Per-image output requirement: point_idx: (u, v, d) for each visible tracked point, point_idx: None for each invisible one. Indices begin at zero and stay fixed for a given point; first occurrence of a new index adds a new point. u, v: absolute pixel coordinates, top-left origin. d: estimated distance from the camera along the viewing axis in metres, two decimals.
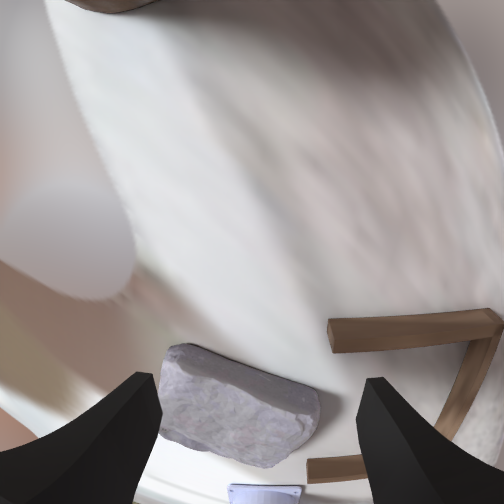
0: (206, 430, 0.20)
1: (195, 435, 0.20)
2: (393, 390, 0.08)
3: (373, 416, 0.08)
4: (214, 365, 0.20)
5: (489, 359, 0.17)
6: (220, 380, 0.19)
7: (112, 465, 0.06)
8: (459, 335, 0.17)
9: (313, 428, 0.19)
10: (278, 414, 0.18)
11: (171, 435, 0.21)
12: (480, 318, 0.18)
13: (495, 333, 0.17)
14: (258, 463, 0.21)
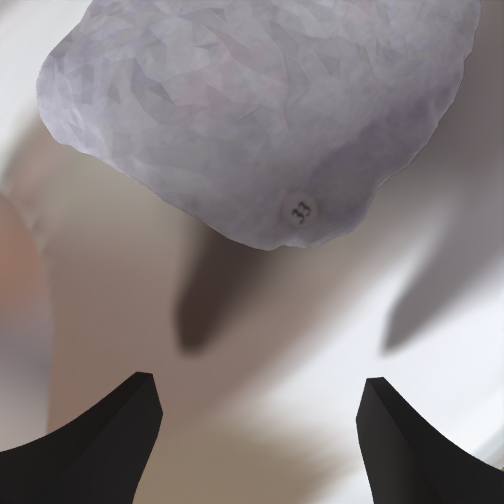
0: (262, 36, 0.05)
1: (300, 85, 0.06)
2: (392, 390, 0.08)
3: (373, 416, 0.08)
4: None
5: None
6: (91, 7, 0.05)
7: (112, 465, 0.06)
8: None
9: None
10: None
11: (337, 196, 0.07)
12: None
13: None
14: None
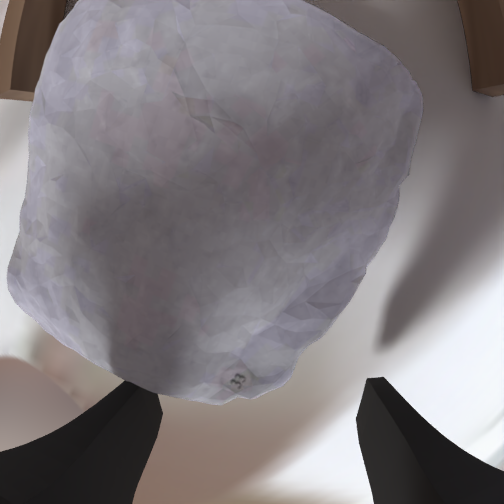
0: (165, 265, 0.07)
1: (209, 304, 0.07)
2: (393, 390, 0.08)
3: (373, 416, 0.08)
4: None
5: None
6: (22, 214, 0.07)
7: (112, 465, 0.06)
8: None
9: None
10: (47, 65, 0.05)
11: (265, 366, 0.08)
12: None
13: None
14: (373, 93, 0.06)
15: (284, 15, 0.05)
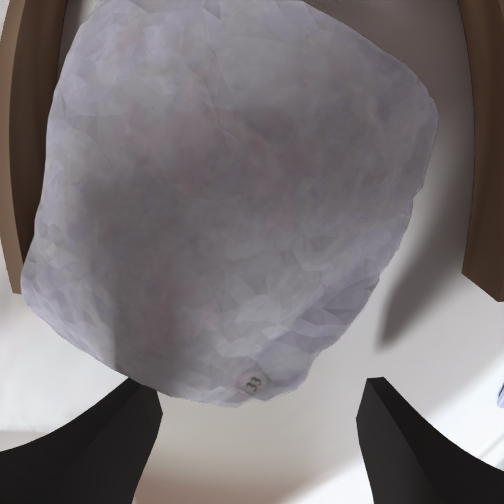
0: (189, 272, 0.07)
1: (231, 310, 0.07)
2: (393, 390, 0.08)
3: (373, 416, 0.08)
4: None
5: None
6: (37, 218, 0.07)
7: (112, 465, 0.06)
8: (9, 33, 0.06)
9: None
10: (68, 67, 0.05)
11: (281, 369, 0.09)
12: None
13: None
14: (393, 110, 0.06)
15: (313, 30, 0.05)
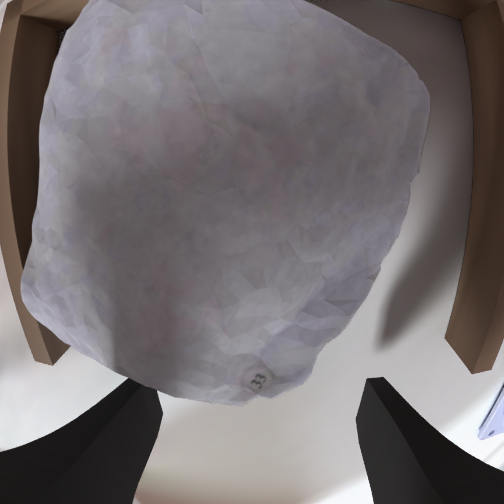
0: (185, 268, 0.07)
1: (230, 306, 0.07)
2: (392, 389, 0.08)
3: (373, 416, 0.08)
4: None
5: None
6: (34, 223, 0.07)
7: (112, 465, 0.06)
8: None
9: None
10: (56, 72, 0.05)
11: (285, 365, 0.08)
12: None
13: (16, 12, 0.05)
14: (383, 94, 0.06)
15: (296, 19, 0.05)
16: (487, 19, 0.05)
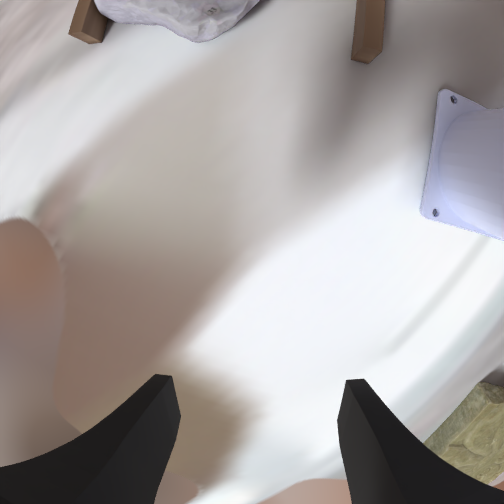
0: None
1: None
2: (371, 392, 0.08)
3: (351, 418, 0.08)
4: None
5: None
6: None
7: (135, 471, 0.06)
8: None
9: None
10: None
11: (229, 4, 0.12)
12: None
13: None
14: None
15: None
16: None
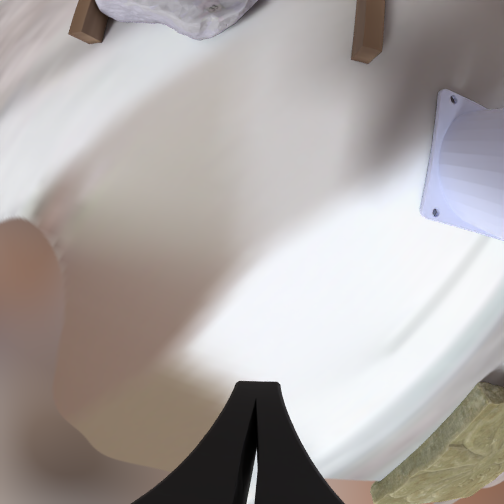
0: None
1: None
2: (276, 396, 0.08)
3: (256, 421, 0.08)
4: None
5: None
6: None
7: (242, 487, 0.06)
8: None
9: None
10: None
11: (230, 1, 0.12)
12: None
13: None
14: None
15: None
16: None
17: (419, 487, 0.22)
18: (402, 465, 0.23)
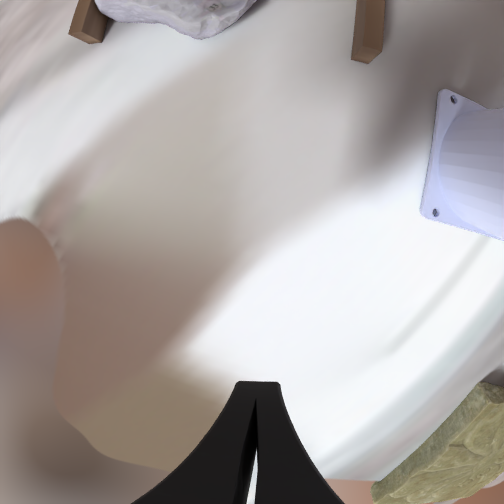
0: None
1: None
2: (276, 396, 0.08)
3: (256, 421, 0.08)
4: None
5: None
6: None
7: (242, 487, 0.06)
8: None
9: None
10: None
11: (230, 0, 0.11)
12: None
13: None
14: None
15: None
16: None
17: (419, 487, 0.22)
18: (402, 465, 0.23)
